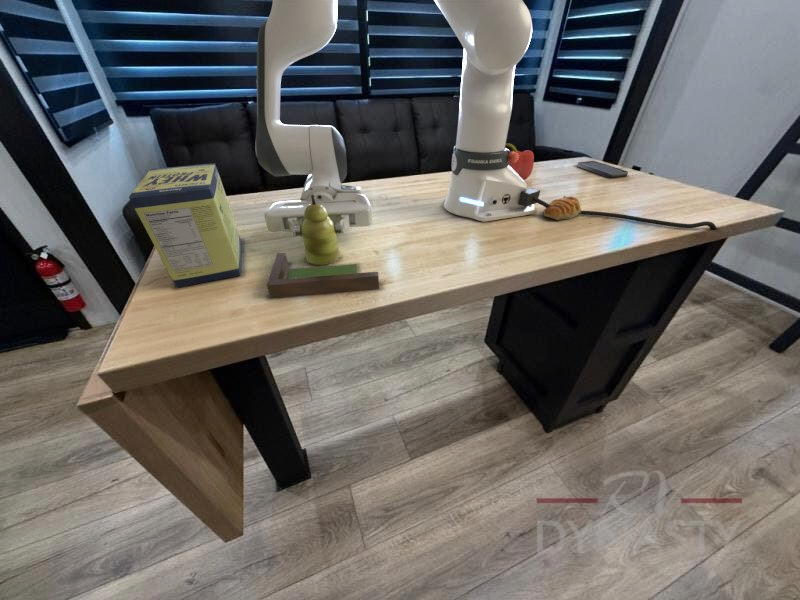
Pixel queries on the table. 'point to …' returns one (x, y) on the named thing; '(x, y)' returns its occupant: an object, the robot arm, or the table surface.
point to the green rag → (322, 271)
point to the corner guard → (316, 282)
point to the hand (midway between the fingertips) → (318, 231)
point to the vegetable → (522, 162)
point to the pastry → (563, 208)
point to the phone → (602, 169)
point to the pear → (319, 235)
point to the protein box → (189, 223)
